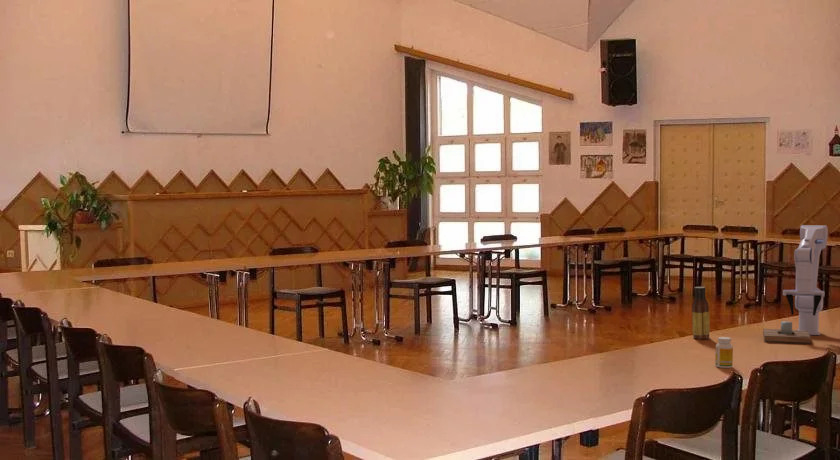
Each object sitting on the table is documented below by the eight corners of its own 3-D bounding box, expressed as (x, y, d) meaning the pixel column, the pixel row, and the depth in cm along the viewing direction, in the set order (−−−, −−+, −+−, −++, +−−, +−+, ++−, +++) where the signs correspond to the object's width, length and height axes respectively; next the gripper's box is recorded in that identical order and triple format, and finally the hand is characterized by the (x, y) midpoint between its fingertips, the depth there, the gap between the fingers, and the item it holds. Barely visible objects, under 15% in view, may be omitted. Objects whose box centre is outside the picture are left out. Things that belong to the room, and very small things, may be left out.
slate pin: (780, 336, 354) (780, 321, 354) (791, 337, 353) (791, 321, 352) (781, 338, 350) (781, 322, 350) (792, 339, 349) (792, 323, 349)
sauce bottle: (707, 336, 359) (708, 286, 357) (711, 339, 352) (711, 288, 351) (690, 336, 359) (690, 286, 358) (693, 339, 353) (694, 288, 352)
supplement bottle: (711, 366, 305) (712, 337, 304) (723, 364, 307) (723, 335, 307) (724, 369, 300) (724, 339, 299) (736, 367, 303) (736, 338, 302)
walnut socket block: (763, 334, 362) (763, 328, 361) (807, 336, 356) (807, 330, 356) (764, 342, 346) (764, 335, 346) (810, 344, 341) (810, 337, 341)
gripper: (783, 279, 349) (783, 315, 349) (825, 281, 344) (824, 317, 345) (782, 277, 355) (782, 312, 356) (823, 278, 351) (823, 314, 351)
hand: (803, 314), depth 351 cm, fingers open, 7 cm apart
